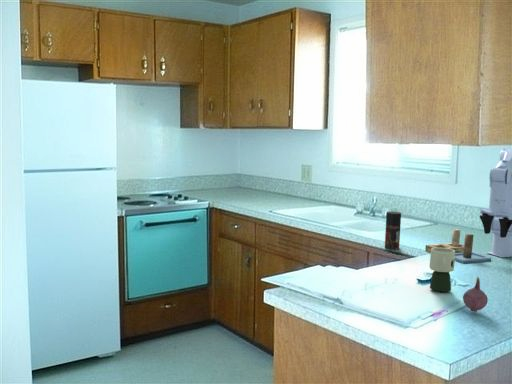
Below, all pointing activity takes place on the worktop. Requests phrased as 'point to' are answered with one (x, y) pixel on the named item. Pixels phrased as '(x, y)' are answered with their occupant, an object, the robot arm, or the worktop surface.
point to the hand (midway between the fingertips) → (495, 235)
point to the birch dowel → (455, 237)
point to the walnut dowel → (468, 246)
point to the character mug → (441, 268)
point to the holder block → (447, 245)
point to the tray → (474, 258)
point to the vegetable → (475, 297)
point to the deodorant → (392, 230)
